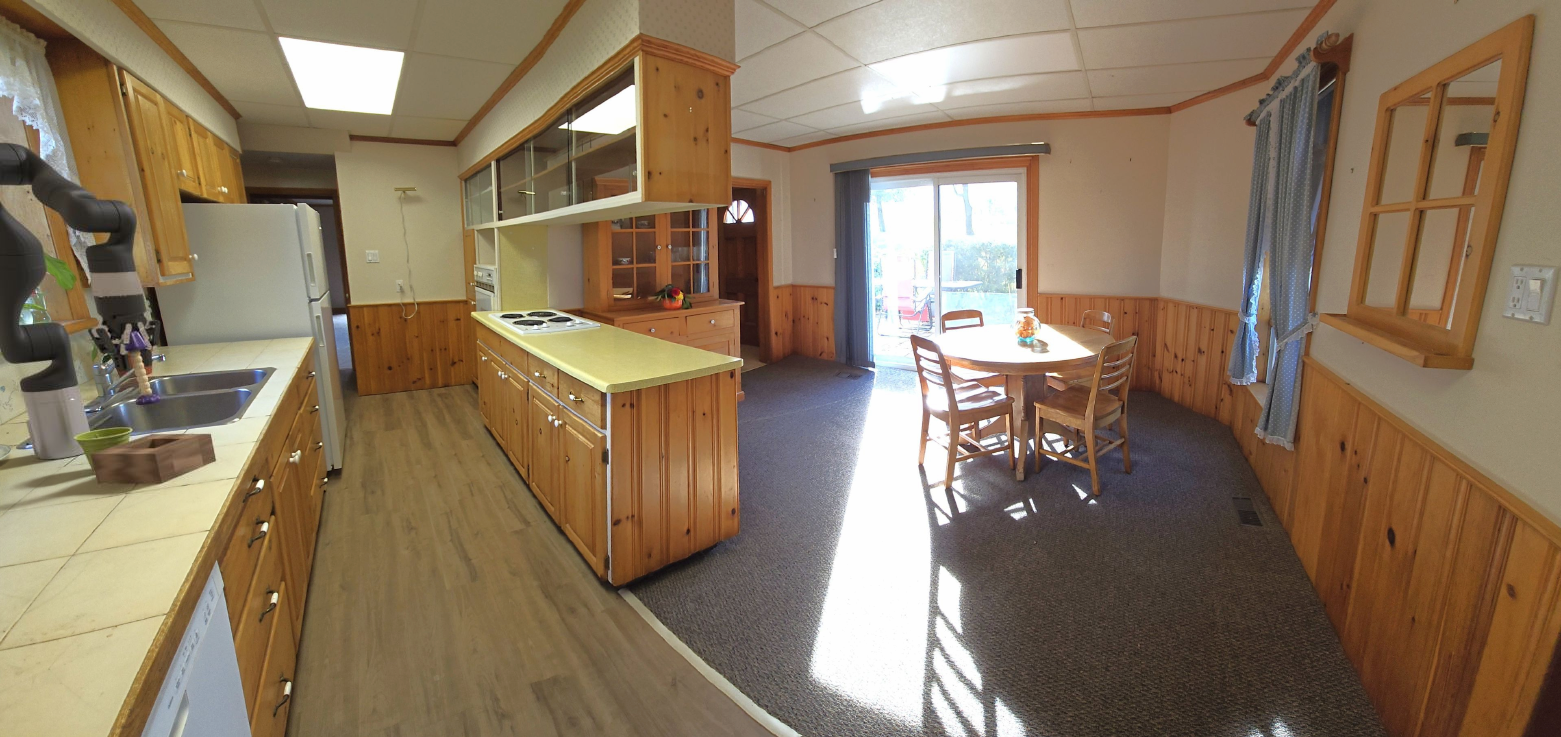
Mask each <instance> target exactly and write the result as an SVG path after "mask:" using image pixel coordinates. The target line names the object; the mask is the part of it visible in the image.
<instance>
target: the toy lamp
mask: <svg viewBox="0 0 1561 737" xmlns="http://www.w3.org/2000/svg"><path fill="white" fill-rule="evenodd" d="M117 340H121V339H117ZM145 348H147V344H146V343H145V341H144V340H143V338H142V337H141V335H140V334H139V333H138V332H137V331H133V332H130V338H129V344H127V345H126V352H128V355H129V356H130V361H131V363H132V368H133V369H134V375H135V376H136V382H137V383H138V387H139V389H140V394H141V395H140V396H139V397H137V399H136V400H135V405H136V406H147V405H154V404H158V403H161V402H162V401H163V400H162V397H160V396H159V395H158V394H154V393H153V392H152V391H153V390H152V389H151V388H150V387H151V384H150V383H149V378H148V376H147V371H146V369H145V367H144V364H143V363H142V357H141V356H140V351H139V350H141V349H145ZM117 349H119V344H118V347H117Z"/></svg>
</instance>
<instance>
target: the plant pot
mask: <svg viewBox="0 0 1561 737" xmlns="http://www.w3.org/2000/svg"><path fill="white" fill-rule="evenodd" d="M132 432H133V428H131V427H111V428H102V429H97V430H96V429H95V430H90V432H86V433H82V434H79V435H77V436H75V437H74V440H76V441H77V442H78V444H79V445H80V446H81V447H82V449H83V451H84V453H83V454H84V456H85V458H86V460H87V462H88V463H89V466H90V468H91V471H92V472H95V471H94V467H93V463H92V459H91V454H92V453H95V452H98V451H102V450H105V449H108V448H111V447H114V446H117V445H120V444H123V443H126V442H129V441H130V438H131V433H132Z"/></svg>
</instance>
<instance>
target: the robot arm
mask: <svg viewBox="0 0 1561 737" xmlns="http://www.w3.org/2000/svg"><path fill="white" fill-rule="evenodd" d="M0 186H31V191H32V194H33V196H34V197H35V198H36V200H37V201H38V202H40V203H41V204H42V205H44V206H45V207H47V208H49V209H51V210H53V211H55V212H57V213H58V214H59V215H60V216H61V218H62V219H63V221H65V223H66V224H67V226H68V227H69V228H70V229H72V230H75V231H78V232H81V233H87V234H99V233H100V234H109V237H108V239H107V240H106V241H105V242H103V243H102V242H101V243H98V244H92V245H89V246H87V247H86V248H85V257H86V263H87V266H88V270H89V275H90V286H91V290H92V295H93V299H94V304H95V308H96V313H97V314H98V315H99V316H100V317H101V318H102V319H101V320H102V321H101V324H100V325H99V326H97V327H90V328H88V331H87V332H88V334H89V336H90V338H91V339H92V341H93V342H94V344H95V345H96V347H97V350H98V351H99V352H100V353H101V354H107V355H111V356H112V359H113V363H114V364H113V365H114V367H115V369H116V370H117V371H118V372H130V371H131V364H130V360H129V356H128V355H129V354H127V351H126V345H127V344H129V338H130V332H133V331H137V332H138V333H139V334H140V335H141V337H142V338H143V340H144V341H145V343H146V344H147V348H145V349H141V350H139V351H140V356H141V357H142V363H143V364H144V368H145V367H147V368H148V367H151V366H153V361H154V360H153V356H152V352H151V350H152V348H154V347H156V346H157V347H158V346H159V345H160V344H159V343H160V331H161V321H160V320H159V319H154V320H152V319H151V320H150V319H147V317H146V316H145V314H146V312H147V306H146V302H145V298H144V297H145V296H144V292H143V288H142V283H141V279H140V277H139V274H138V272H137V267H136V262H135V258H134V244H135V235H136V230H137V225H138V224H137V223H138V218H137V214H136V212H135V211H134V208H132V207H131V206H130V205H129V204H128V203H127V202H125V201H122V200H118V199H98V198H97V196H95V194H93V192H91V191H90V190H88V189H86V188H85V187H82V186H80V185H79V184H77V183H75V182H72V181H71V180H69V179H67V178H66V177H64V176H63V175H62V174H60V173H59V172H58V171H57V170H56V169H54V167H52V166H51V165H50V164H49V163H48V162H46V161H45V160H44V159H43V158H42V157H41V156H39V155H38V154H37V153H36V152H34V151H33V150H31V149H30V148H28V147H27V146H24V145H21V144H18V143H11V142H0ZM47 267H48V266H47V263H46V256H45V251H44V247H43V245H42V243H41V241H40V240H39V238H37V236H35V234H33V232H31V231H30V230H29V229H28V228H27V227H26V226H25V225H23V223H21V222H20V221H19V220H17V218H15V217H14V216H13V215H12V214H11V213H10V212H9V211H8V210H7V209H6V208H5V206H4V205H3V203H2V202H1V201H0V353H1V355H2V357H3V358H4V360H5V361H7V362H8V363H9V364H12V365H13V364H14V365H18V364H19V365H20V364H30V363H38V362H47V361H51V362H50V364H49V365H48V366H47V367H45V368H44V369H42V370H40V371H39V372H36V373H34V374H31V375H28V376H26V377H23V378H22V379H20V381H19V386H20V390H21V393H22V397H23V401H24V405H25V408H26V411H27V412H26V413H27V416H28V420H26V422H25V423H26V427H27V432H28V434H29V439H30V443H31V445H32V449H33V450H32V451H33V453H34V456H35V458H39V460H40V459H41V460H56V459H63V458H70V457H74V456H79V455H83V454H85V453H84V451H83V449H82V447H81V446H80V445H79V444H78V442H77V441H76V440H74V437H75V436H77V435H79V434H82V433H86V432H90V431H91V430H90V426H89V421H88V418H87V413H86V410H85V406H84V400H83V396H82V393H81V391H80V386H79V382H78V378H77V373H76V367H75V363H74V358H73V351H72V345H71V340H70V335H69V333H68V331H67V329H66V327H65V326H64V325H63V324H62V323H60V322H53V321H52V322H43V323H26V324H20V319H21V313H22V310H23V308H24V306H25V304H26V303H27V301H28V300H29V299H30V297H31V296H32V294H33V293H34V292H35V291H36V290H37V288H39V286H40V285H41V283H42V282H43V280H44V278H45V277H46V274H47V272H48V271H47V270H48V268H47ZM118 339H121V340H118ZM118 344H119V349H118Z"/></svg>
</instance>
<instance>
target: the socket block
mask: <svg viewBox="0 0 1561 737" xmlns="http://www.w3.org/2000/svg"><path fill="white" fill-rule="evenodd" d="M91 459H92V463H93V467H94V471H93V472H94V474H95V478H96V482H97V484H98V483H127V484H163V483H166V482H168V481H171V480H173V479H175V478H178V477H181V476H182V474H183V475H185V473H186V474H188V473H191V472H193V471H195V470H197V469H200V468H202V467H205V466H207V465H210V464H212V463H215V462H216V461H217V458H216V453H215V448H214V443H213V438H212V433H150V434H147V435H145V436H142V437H139V438H135V439H132V440H129V442H126V443H123V444H120V445H117V446H114V447H111V448H108V449H105V450H102V451H98V452H95V453H92V454H91Z"/></svg>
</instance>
